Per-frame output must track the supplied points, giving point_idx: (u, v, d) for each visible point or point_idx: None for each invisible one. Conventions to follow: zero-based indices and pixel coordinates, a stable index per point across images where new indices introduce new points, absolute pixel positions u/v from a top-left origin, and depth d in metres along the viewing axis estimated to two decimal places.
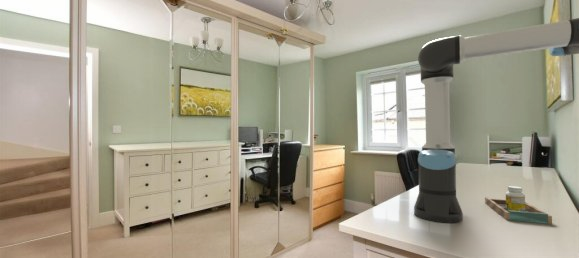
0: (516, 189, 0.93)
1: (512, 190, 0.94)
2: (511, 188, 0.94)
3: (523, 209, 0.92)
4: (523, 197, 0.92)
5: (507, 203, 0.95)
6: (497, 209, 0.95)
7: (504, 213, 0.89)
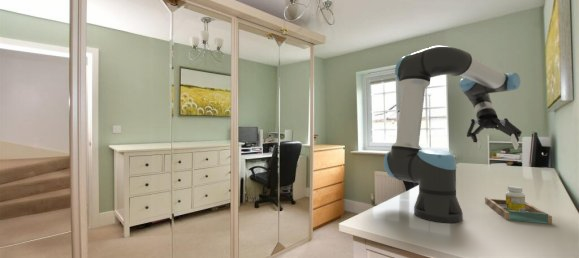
0: (516, 189, 0.93)
1: (512, 190, 0.94)
2: (511, 188, 0.94)
3: (523, 209, 0.92)
4: (523, 197, 0.92)
5: (507, 203, 0.95)
6: (497, 209, 0.95)
7: (504, 213, 0.89)
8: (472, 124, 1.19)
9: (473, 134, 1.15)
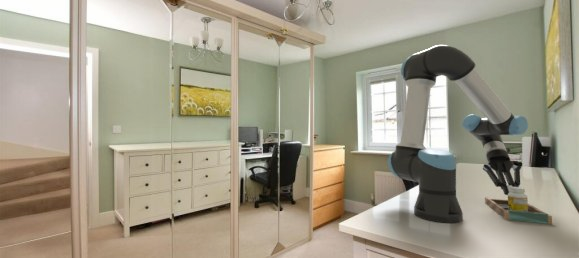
0: (518, 190, 0.92)
1: (514, 190, 0.92)
2: (513, 189, 0.93)
3: (526, 210, 0.91)
4: (526, 198, 0.91)
5: (509, 204, 0.94)
6: (497, 209, 0.95)
7: (504, 213, 0.89)
8: (491, 171, 1.06)
9: (504, 185, 1.01)
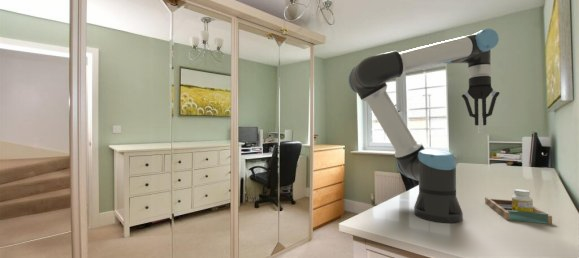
0: (523, 193, 0.88)
1: (518, 193, 0.88)
2: (518, 191, 0.89)
3: None
4: (531, 201, 0.87)
5: (513, 207, 0.90)
6: (497, 209, 0.95)
7: (504, 213, 0.89)
8: (467, 102, 1.08)
9: (475, 117, 1.07)
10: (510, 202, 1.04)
